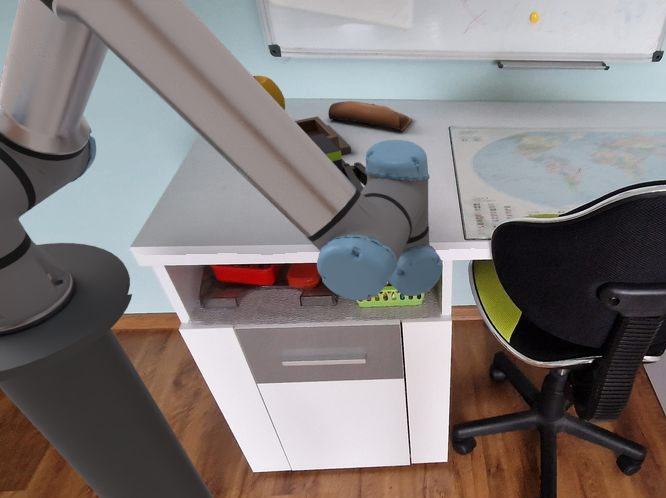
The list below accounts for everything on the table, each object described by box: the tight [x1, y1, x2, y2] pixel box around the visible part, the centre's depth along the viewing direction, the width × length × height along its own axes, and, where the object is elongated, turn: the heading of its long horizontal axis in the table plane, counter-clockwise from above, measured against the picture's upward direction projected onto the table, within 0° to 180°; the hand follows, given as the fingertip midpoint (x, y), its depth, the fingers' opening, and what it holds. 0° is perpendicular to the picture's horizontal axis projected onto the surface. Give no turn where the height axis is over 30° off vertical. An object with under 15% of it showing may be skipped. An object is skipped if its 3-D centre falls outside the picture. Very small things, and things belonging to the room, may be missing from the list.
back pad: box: [310, 134, 343, 173], centre depth 92 cm, size 4×7×11 cm, turn 33°
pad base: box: [294, 116, 352, 156], centre depth 115 cm, size 12×12×4 cm
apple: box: [252, 75, 286, 111], centre depth 117 cm, size 10×10×12 cm
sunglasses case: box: [327, 100, 412, 132], centre depth 125 cm, size 18×7×7 cm
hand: (314, 157), depth 94 cm, fingers closed on back pad, 3 cm apart
